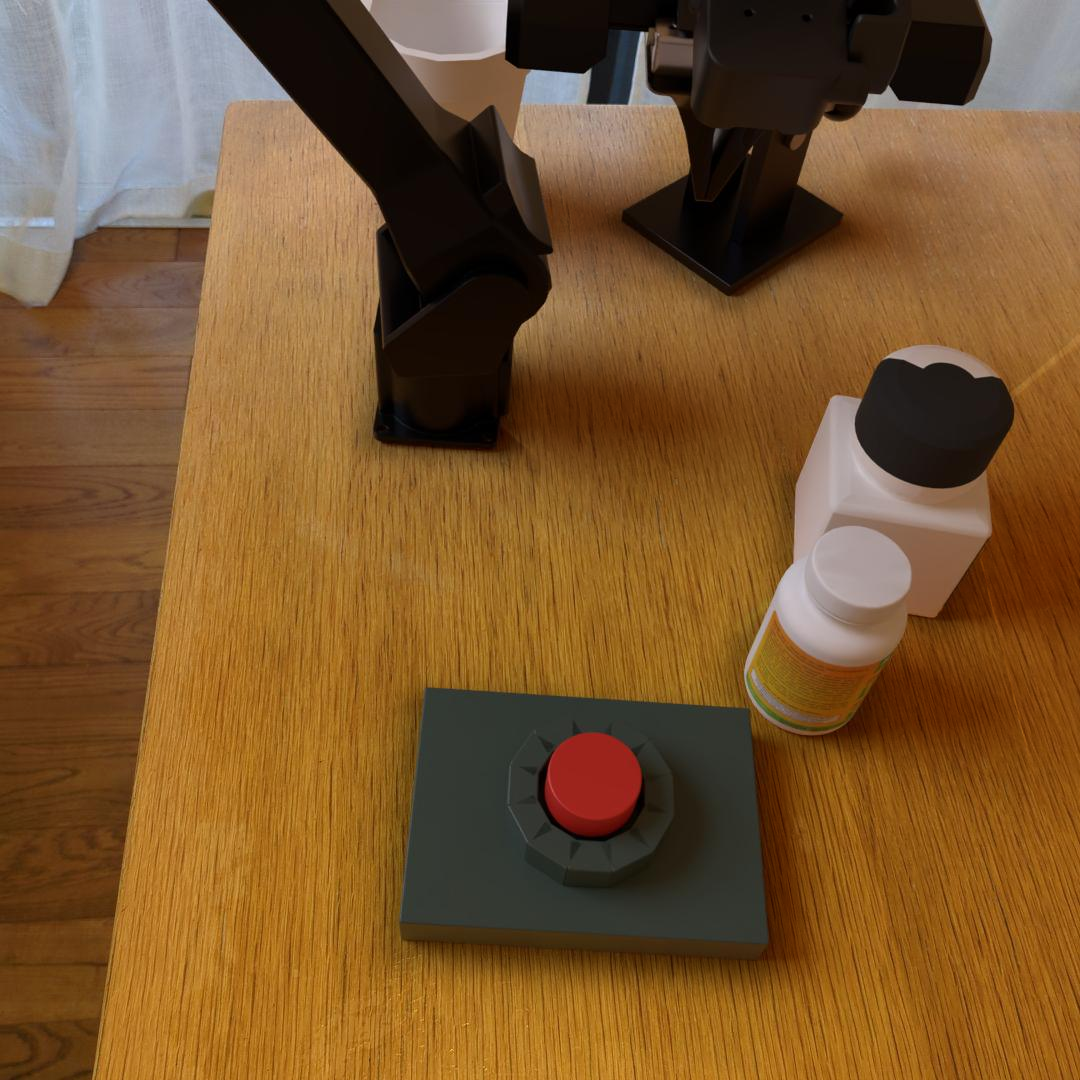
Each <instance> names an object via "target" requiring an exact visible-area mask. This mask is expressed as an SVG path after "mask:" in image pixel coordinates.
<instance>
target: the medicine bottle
mask: <svg viewBox="0 0 1080 1080" xmlns="http://www.w3.org/2000/svg"><path fill="white" fill-rule="evenodd" d="M821 419H822V420H821V422H820V424H819V427H818V429H817V431H816V433H815V436H814V439H813V442H812V444H811V446H810V449H809V451H808V454H807V456H806V459H805V461H804V464H803V466H802V469H801V471H800V474H799V476H798V479H797V481H796V484H795V499H794V529H793V531H794V532H793V533H794V535H793V563H794V562H796V561H797V560H799V559H800V558H802V557H804V556H806V555H808V554H810V553H811V552H812V550H813V548H814V546H815V544H816V543H817V541H818V540H819V539H820V538H821V537H822V536H823V535H824V534H825V533H827V532H829V531H830V530H832V529H835V528H839V527H843V526H862V527H866V528H870V529H873V530H876V531H878V532H880V533H882V534H884V535H886V536H887V537H889V538H890V539H892V540H893V541H894V542H895V543H896V544H897V545H899V547H900V548H901V549H902V550H903V551H904V553H905V554H906V556H907V558H908V560H909V562H910V564H911V568H912V574H913V579H912V584H911V588H910V590H909V592H908V594H907V596H906V598H905V600H906V605H907V612H908V615H913V616H918V617H923V618H936V617H938V616H939V615H940V613H941V612H942V610H943V609H944V607H945V606H946V605H947V603H948V601H949V600H950V598H951V597H952V595H953V594H954V592H955V591H956V589H957V587H958V586H959V585H960V583H961V582H962V581H963V579H964V577H965V576H966V574H967V573H968V572H969V570H970V569H971V567H972V565H973V564H974V562H975V561H976V559H977V557H978V556H979V555H980V553H981V551H982V550H983V549H984V548H985V546H986V544H987V543H988V541H989V539H990V538H991V537H992V534H993V525H992V524H993V523H992V515H991V507H990V506H991V505H990V497H989V495H990V494H989V487H988V486H989V485H988V478H987V468H988V467H989V465H990V463H991V462H992V460H993V458H994V456H995V455H996V454H997V451H998V450H999V449H1000V446H1001V445H1002V443H1003V442H1004V440H1005V438H1006V437H1007V435H1008V433H1010V430H1011V428H1012V426H1013V423H1014V421H1015V403H1014V401H1013V398H1012V395H1011V393H1010V391H1009V389H1008V387H1007V386H1006V383H1005V382H1004V381H1003V379H1002V378H1001V377H1000V375H998V373H997V372H996V371H995V370H994V369H993V368H991V367H990V366H989V365H988V364H987V363H985V362H984V361H982V360H981V359H978V358H977V357H976V356H974V355H971V354H969V353H967V352H965V351H962V350H960V349H957V348H954V347H950V346H945V345H939V344H938V345H937V344H917V345H911V346H907V347H904V348H901V349H898V350H895V351H893V352H892V353H890V354H888V355H886V356H885V357H884V358H883V359H882V360H880V361H879V363H878V364H877V365H876V367H875V369H874V371H873V374H872V375H871V378H870V380H869V382H868V385H867V387H866V389H865V392H864V394H863V396H862V398H859V397H854V396H848V395H841V394H835V395H832V397H831V398H830V399H829V401H828V405H827V407H826V409H825V412H824V414H823V417H822V418H821Z"/></svg>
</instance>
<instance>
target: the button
mask: <svg viewBox="0 0 1080 1080" xmlns="http://www.w3.org/2000/svg"><path fill="white" fill-rule="evenodd" d="M641 785H642V773H641V769H640V765H639V763H638V760H637V759H636V757H635V755H634V754H633V752H632V751H631V750H630V749H629V748H628V747H627V746H626V745H625V744H624V743H622V742H621V741H620V740H618V739H616V738H614V737H612V736H609V735H606V734H602V733H582V734H578V735H576V736H573V737H571V738H569V739H567V740H566V741H564V742H563V743H562V744H561V745H560V746H559V747H558V748H557V749H556V750H555V752H554V753H553V755H552V757H551V759H550V762H549V766H548V771H547V777H546V783H545V799H546V803H547V806H548V809H549V811H550V813H551V814H552V816H553V817H554V818H555V820H556V821H557V822H558V823H559V824H560V825H561V826H563V827H564V828H566V829H567V830H569V831H571V832H573V833H575V834H578V835H582V836H587V837H599V836H604V835H608V834H611V833H613V832H615V831H617V830H618V829H620V828H621V827H622V826H623V825H624V824H625V823H626V822H627V821H628V820H629V818H630V817H631V815H632V813H633V811H634V808H635V805H636V802H637V799H638V796H639V793H640V790H641Z"/></svg>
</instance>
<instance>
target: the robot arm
mask: <svg viewBox="0 0 1080 1080" xmlns="http://www.w3.org/2000/svg"><path fill="white" fill-rule="evenodd" d="M206 1H207V2H208V4H210V6H211V7H212V8H213V9H214V10H215V12H216V13H217V14H218V15H219V16H220V17H221V19H222V20H223V21H224V22H225V23H226V25H227V26H228V27H229V28H230V29H231V30H232V31H233V33H234V34H235V35H236V36H237V37H238V38H239V39H240V41H241V42H242V43H243V44H244V45H245V47H246V48H247V49H248V50H249V51H250V52H251V54H252V55H253V56H254V57H255V58H256V60H258V62H259V63H260V64H261V65H262V66H263V68H265V69H266V71H267V72H268V73H269V74H270V76H272V78H273V79H274V80H275V81H276V82H277V83H278V85H279V86H280V87H281V88H282V90H284V92H285V93H286V94H287V95H288V96H289V97H290V99H291V100H292V101H293V102H294V103H295V104H296V105H297V107H298V109H300V110H301V111H302V112H303V113H304V115H305V116H306V118H308V119H309V121H310V122H311V123H312V124H313V126H315V128H316V129H317V130H318V131H319V132H320V133H321V134H322V135H323V137H324V138H325V139H326V140H327V142H329V144H330V145H331V146H332V148H333V149H334V150H335V151H336V152H337V153H338V154H339V156H340V157H341V158H342V159H343V160H344V162H346V164H347V165H348V166H349V167H350V168H351V170H352V171H354V173H355V174H356V175H357V177H358V178H359V179H360V180H361V181H362V182H363V183H364V184H365V186H367V189H369V191H370V192H371V193H372V195H373V197H374V199H375V201H376V203H377V205H378V207H379V210H380V213H381V215H382V217H383V220H384V223H383V224H382V225H380V227H379V228H378V229H376V231H375V244H376V245H375V247H376V261H377V262H376V263H377V277H378V292H379V297H378V302H377V308H376V313H375V318H374V324H373V330H372V332H373V347H374V360H375V362H374V363H375V373H376V374H375V377H376V388H377V402H376V403H377V404H376V410H375V416H374V420H373V421H374V422H373V428H372V429H373V430H372V431H373V438H374V439H375V440H376V441H378V442H381V443H394V444H406V445H420V446H434V447H436V446H437V447H447V448H463V449H475V450H477V449H478V450H493V449H495V448H496V447H497V446H498V442H499V433H500V432H499V431H500V430H499V429H500V419H501V418H500V417H503V418H504V417H506V416H507V415H509V414H510V401H511V388H512V387H511V386H512V375H513V374H512V373H513V357H514V344H515V343H514V342H515V337H516V335H517V334H518V332H519V330H520V329H521V327H522V325H523V324H524V323H526V322H527V321H529V320H530V319H532V318H534V317H535V316H536V315H537V314H538V313H539V311H540V310H541V308H542V307H543V306H544V305H545V304H546V302H547V299H548V297H549V293H550V292H551V291H552V290H553V289H552V288H553V281H552V275H551V269H550V265H549V259H548V255H552V254H553V253H554V249H555V248H554V244H553V240H552V236H551V231H550V226H549V221H548V216H547V211H546V206H545V202H544V201H545V200H544V195H543V191H542V187H541V181H540V176H539V171H538V167H537V162H536V161H537V160H536V159H535V158H534V157H533V156H530V155H529V154H527V153H526V152H524V151H523V150H522V149H520V148H519V146H517V145H516V143H515V142H514V140H513V141H512V140H511V138H510V137H509V135H508V133H507V131H506V129H505V126H504V124H503V122H502V119H501V117H500V115H499V113H498V111H497V109H496V108H495V106H494V105H490V106H488V107H487V108H486V109H485V110H483V111H482V112H481V113H480V114H479V115H477V116H476V117H475V118H474V119H473V120H471V121H470V122H469V121H467V120H465V119H463V118H461V117H459V116H457V115H455V114H453V113H451V112H449V111H447V110H445V109H444V108H442V107H441V106H440V105H439V104H438V103H437V102H436V101H435V100H434V99H433V98H432V97H431V95H430V94H429V93H428V91H427V90H426V88H425V87H424V86H423V84H422V83H421V82H420V80H419V79H418V78H417V76H416V75H415V74H414V72H413V71H412V69H411V68H410V67H409V65H408V64H407V63H406V61H405V60H404V59H403V57H402V56H401V55H400V53H399V52H398V50H397V49H396V48H395V46H394V45H393V44H392V42H391V41H390V40H389V38H388V37H387V36H386V34H385V33H384V31H383V30H382V29H381V27H380V26H379V25H378V23H377V22H376V21H375V19H374V18H373V17H372V15H371V14H370V13H369V11H368V10H367V8H366V7H365V6H364V4H363V3H362V2H361V0H206ZM610 30H614V31H615V30H616V31H625V32H626V31H628V32H639V33H643V37H644V38H643V39H644V41H643V42H644V44H643V45H644V68H645V71H644V73H645V86H646V88H647V90H648V91H650V92H651V93H652V94H654V95H656V96H662V97H670V98H671V100H672V101H673V102H674V104H675V105H676V108H677V110H678V113H679V116H680V120H681V123H682V126H683V130H684V133H685V139H686V145H687V153H688V160H689V168H690V167H691V174H692V181H693V188H694V195H695V200H696V201H708V202H712V201H714V199H715V198H716V197H717V195H718V194H719V192H720V191H721V190H722V188H723V187H724V185H725V184H726V183H727V181H728V180H729V178H730V177H731V176H732V174H733V173H734V171H735V170H736V169H737V167H738V166H739V164H740V163H741V162H742V160H743V159H744V157H745V156H746V155H747V153H749V152H750V150H752V148H753V145H754V144H755V142H756V141H757V140H758V139H759V137H760V136H761V135H762V134H763V133H764V132H765V131H766V130H767V129H771V130H779V131H781V132H782V133H784V134H787V135H803V134H807V133H809V132H811V131H813V132H814V131H815V130H816V129H817V128H818V126H819V125H820V123H821V122H822V118H823V117H824V116H823V115H824V112H825V110H826V108H827V106H828V104H829V103H835V104H846V105H860V106H863V107H864V105H865V104H866V102H867V100H868V96H869V95H879V96H880V95H883V94H884V93H885V92H886V91H887V90H888V87H889V88H890V89H891V91H892V92H893V94H894V96H895V97H896V99H897V100H898V101H899V102H912V103H922V104H923V103H924V104H932V105H933V104H934V105H947V106H957V107H958V106H959V107H964V106H966V105H967V104H968V103H970V102H971V101H973V100H975V98H976V96H977V93H978V90H979V89H980V86H981V83H982V81H983V78H984V76H985V74H986V71H987V70H988V67H989V64H990V62H991V56H992V55H991V54H992V47H993V40H994V39H993V37H992V34H991V32H990V29H989V26H988V23H987V20H986V17H985V15H984V13H983V10H982V7H981V5H980V2H979V0H508V5H507V21H506V42H505V60H506V61H508V62H509V63H511V64H512V65H514V66H515V67H517V68H518V69H529V70H531V71H543V72H555V73H565V74H578V75H585V74H586V73H587V72H588V71H590V70H591V69H592V68H594V67H595V66H596V65H598V64H599V63H600V62H601V61H603V60H604V59H606V58H607V50H608V41H609V32H610ZM714 128H716V129H715V133H714ZM487 439H489V440H487Z"/></svg>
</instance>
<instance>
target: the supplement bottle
mask: <svg viewBox="0 0 1080 1080" xmlns="http://www.w3.org/2000/svg"><path fill="white" fill-rule="evenodd" d="M912 579H913V574H912V568H911V564H910V562H909V560H908V558H907V556H906V554H905V553H904V551H903V550H902V549H901V548H900V547H899V545H897V544H896V543H895V542H894V541H893V540H892V539H890V538H889V537H887V536H886V535H884V534H882V533H880V532H878V531H876V530H873V529H870V528H866V527H862V526H843V527H839V528H835V529H832V530H830V531H829V532H827V533H825V534H824V535H823V536H822V537H821V538H820V539H819V540H818V541H817V543H816V544H815V546H814V548H813V550H812V552H811V553H810V554H808V555H806V556H804V557H802V558H800V559H799V560H797V561H796V562H794V561H793V562H792V564H791V565H790V566H789V567H788V569H787V570H786V571H785V572H784V574H783V575H782V577H781V579H780V580H779V583H778V584H777V586H776V589H775V591H774V594H773V596H772V598H771V600H770V603H769V605H768V608H767V609H766V612H765V615H764V617H763V619H762V622H761V624H760V626H759V629H758V630H757V632H756V635H755V637H754V640H753V643H752V644H751V647H750V649H749V651H748V655H747V658H746V660H745V663H744V664H745V665H744V669H743V670H744V672H743V678H744V685H745V689H746V691H747V692H746V693H747V694H748V697H749V699H750V701H751V702H752V704H753V705H754V707H755V708H756V710H757V711H758V712H759V713H760V714H761V715H762V716H763V717H764V718H765V720H767V721H768V722H770V723H771V724H773V725H774V726H776V727H777V728H779V729H782V730H784V731H787V732H790V733H792V734H796V735H804V736H821V735H825V734H830V733H833V732H834V731H837V730H838V729H840V728H842V727H843V726H845V725H846V724H847V723H848V722H849V721H850V720H851V719H852V718H853V717H854V715H855V714H856V712H857V711H858V709H859V708H860V706H861V704H862V703H863V702H864V699H866V696H867V695H868V694H869V692H870V690H871V688H872V687H873V685H874V684H875V682H876V681H877V678H878V677H879V676H880V674H881V673H882V670H883V669H884V668H885V666H886V664H887V663H888V661H889V660H890V658H891V656H892V655H893V653H894V652H895V650H896V649H897V647H898V645H899V644H900V642H901V640H902V638H903V636H904V634H905V632H906V628H907V624H908V616H909V614H908V612H907V605H906V600H905V598H906V596H907V594H908V592H909V590H910V588H911V584H912Z"/></svg>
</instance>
